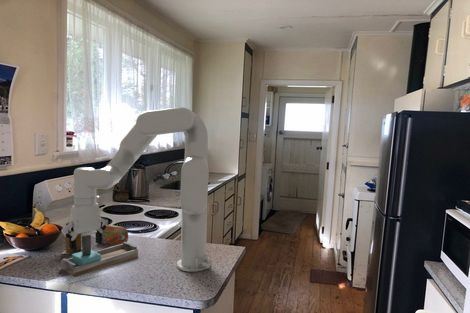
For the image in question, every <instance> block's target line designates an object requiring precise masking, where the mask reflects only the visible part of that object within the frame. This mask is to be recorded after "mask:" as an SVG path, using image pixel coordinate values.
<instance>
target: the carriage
mask: <svg viewBox="0 0 470 313" xmlns="http://www.w3.org/2000/svg"><path fill="white" fill-rule="evenodd" d="M91 236H92V235H91V234H84V235H81V247H82V252H78V253H73V254H71V258H72V262H73V263H75V264H77V265H78V266H82V265H85V264H88V263H92V262H95V261H98V260H101V254H99V253H97V252H95V251H96V250H95V251H94V250H93V249H92V244H91V243H92V241H91V239H92V238H91Z"/></svg>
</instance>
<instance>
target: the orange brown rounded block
mask: <svg viewBox="0 0 470 313" xmlns="http://www.w3.org/2000/svg"><path fill="white" fill-rule="evenodd" d="M128 240H129V232H128V230H127V229H126V227H125V226H124V227H123V226H121V225H112V224H107V225H106V228H105V230H104V231H103V233H102V241H101V244H103V245H107V246H116V245H120V244H123V242H127V243H128Z"/></svg>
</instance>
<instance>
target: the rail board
mask: <svg viewBox="0 0 470 313" xmlns="http://www.w3.org/2000/svg"><path fill="white" fill-rule="evenodd" d="M137 247H138V246H136V245H134V244H132V243H129V242H128V241H127V242H123V244H120V245H116V246H113V245H111V246H109V247H106V248H103V249H99V250H95V252H97V253H99V254H101V260H98V261H95V262H92V263H88V264H85V265H82V266H78V265H77V264H75V263H73V262H72V257H69V258H62V260H60V262H61V263H60V265H61V269H62V270H63V271H65V272H66V273H67V274H70V275H71V276H73V277H74V278H75V277H78V276H81V275H84V274H87V273H90V272H94V271H96V270H100V269H103V268H106V267H109V266H112V265H116V264H119V263H122V262H125V261H128V260H131V259H134V258H137V257H139V249H138V248H137Z"/></svg>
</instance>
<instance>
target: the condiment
mask: <svg viewBox="0 0 470 313" xmlns="http://www.w3.org/2000/svg"><path fill="white" fill-rule="evenodd" d="M68 224H70V221H69V222H66V224H65V226H67V225H68ZM68 233H69V234H70V233H71V231H70V229H69V230H68ZM64 239H65V240H64V241H65V242H64V244H65V245H64V247H65V250H64V251H63V252H62V253H61V254H62V255H64V254H65V255H70V254H71V255H72V254H75V253H78V252H82V234H78V235H77V236H76V238H75V240H76V251H73V250H71V249H70V247H69V239H68V238H67V237H66V236H64Z"/></svg>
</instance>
